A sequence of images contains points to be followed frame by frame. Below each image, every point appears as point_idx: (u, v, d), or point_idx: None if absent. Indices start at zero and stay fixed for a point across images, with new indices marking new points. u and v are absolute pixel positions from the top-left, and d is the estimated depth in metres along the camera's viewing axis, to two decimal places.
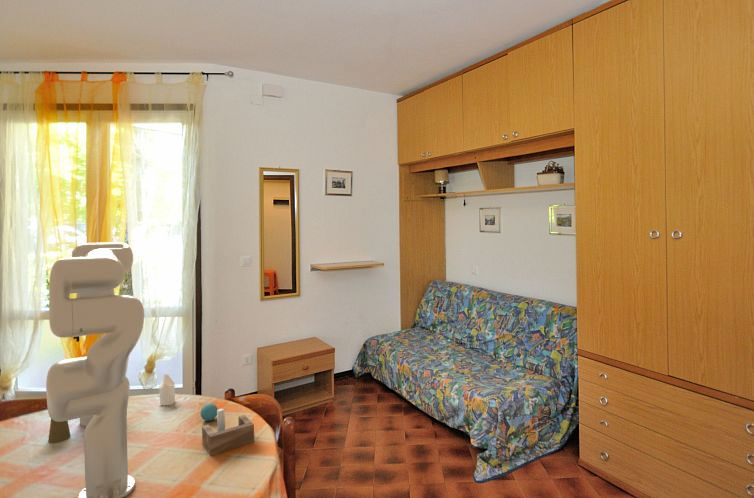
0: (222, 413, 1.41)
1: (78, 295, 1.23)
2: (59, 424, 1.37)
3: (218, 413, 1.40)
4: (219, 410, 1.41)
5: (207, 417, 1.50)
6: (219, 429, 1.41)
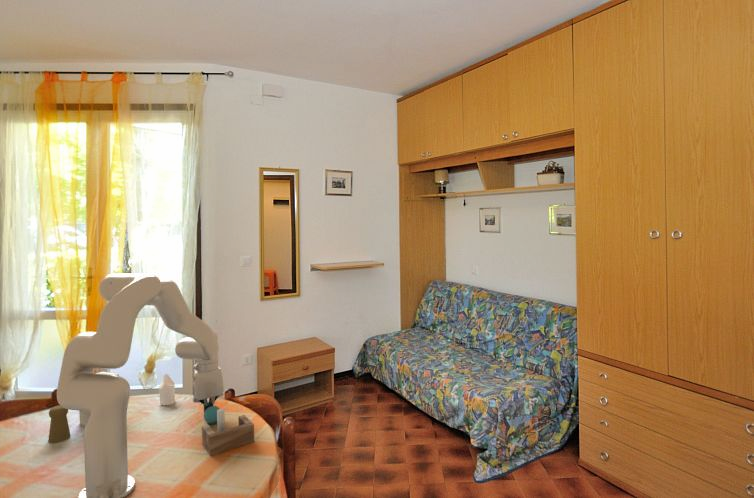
0: (222, 413, 1.41)
1: (197, 378, 1.49)
2: (59, 424, 1.37)
3: (218, 413, 1.40)
4: (219, 410, 1.41)
5: None
6: (219, 429, 1.41)
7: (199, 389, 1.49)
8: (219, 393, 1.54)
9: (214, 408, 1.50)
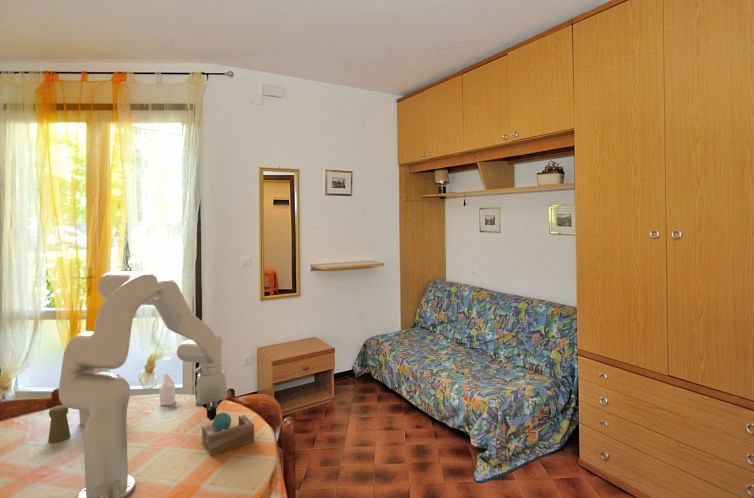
0: None
1: (199, 382, 1.46)
2: (59, 424, 1.37)
3: None
4: None
5: None
6: None
7: (202, 393, 1.46)
8: (222, 397, 1.50)
9: None
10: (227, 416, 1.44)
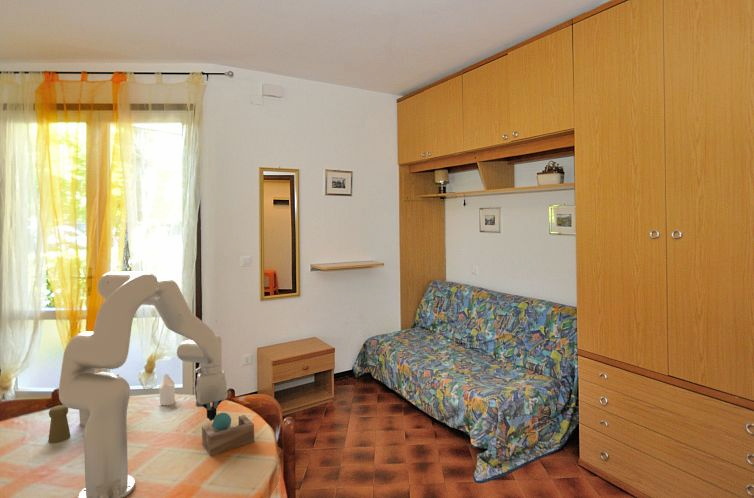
0: None
1: (199, 382, 1.46)
2: (59, 424, 1.37)
3: None
4: None
5: None
6: None
7: (202, 393, 1.46)
8: (222, 397, 1.50)
9: None
10: (227, 416, 1.44)
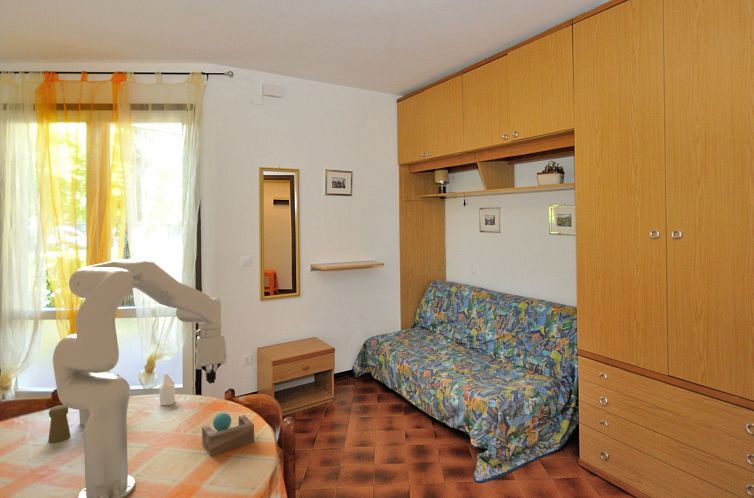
0: None
1: (199, 343, 1.45)
2: (59, 424, 1.37)
3: None
4: None
5: None
6: None
7: (201, 355, 1.45)
8: (222, 360, 1.49)
9: None
10: (227, 416, 1.44)
